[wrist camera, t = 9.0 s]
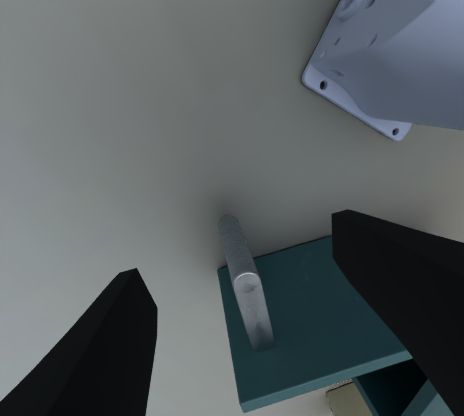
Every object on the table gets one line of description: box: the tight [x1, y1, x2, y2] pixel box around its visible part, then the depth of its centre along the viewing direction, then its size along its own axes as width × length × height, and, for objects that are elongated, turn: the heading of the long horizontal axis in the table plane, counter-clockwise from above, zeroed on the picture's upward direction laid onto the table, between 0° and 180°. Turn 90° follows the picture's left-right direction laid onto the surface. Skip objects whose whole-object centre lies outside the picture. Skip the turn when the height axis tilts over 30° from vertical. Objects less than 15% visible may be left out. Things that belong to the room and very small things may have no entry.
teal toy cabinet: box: [352, 358, 454, 416], centre depth 21 cm, size 8×13×11 cm, turn 174°
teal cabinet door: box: [218, 215, 413, 413], centre depth 16 cm, size 7×13×10 cm, turn 103°
